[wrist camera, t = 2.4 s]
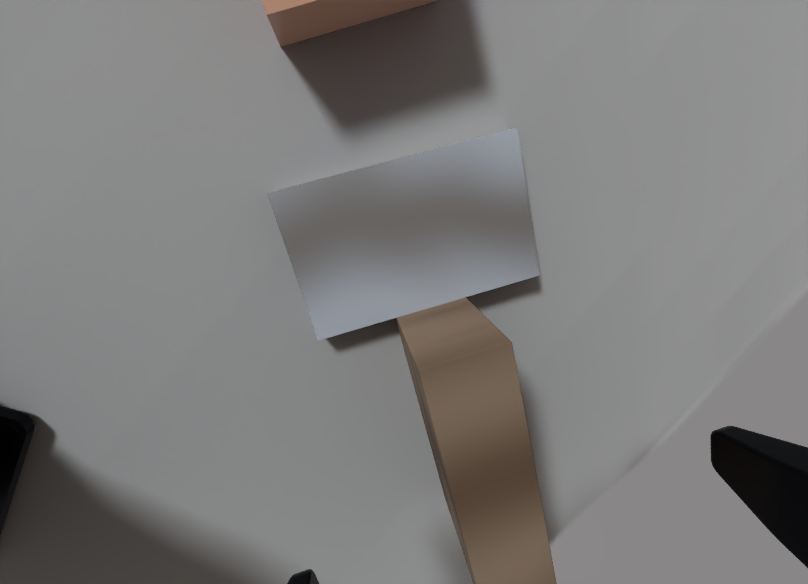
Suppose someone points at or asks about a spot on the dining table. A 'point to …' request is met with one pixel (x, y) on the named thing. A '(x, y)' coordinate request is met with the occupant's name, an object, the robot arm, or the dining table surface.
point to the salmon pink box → (327, 15)
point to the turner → (438, 320)
